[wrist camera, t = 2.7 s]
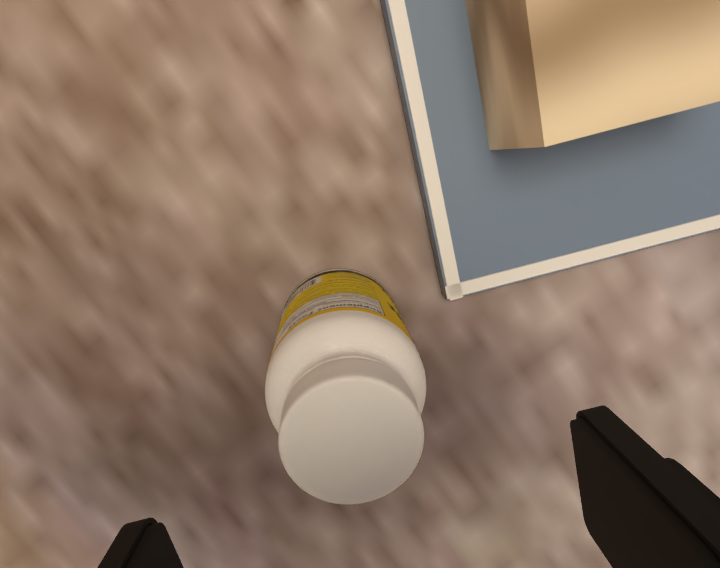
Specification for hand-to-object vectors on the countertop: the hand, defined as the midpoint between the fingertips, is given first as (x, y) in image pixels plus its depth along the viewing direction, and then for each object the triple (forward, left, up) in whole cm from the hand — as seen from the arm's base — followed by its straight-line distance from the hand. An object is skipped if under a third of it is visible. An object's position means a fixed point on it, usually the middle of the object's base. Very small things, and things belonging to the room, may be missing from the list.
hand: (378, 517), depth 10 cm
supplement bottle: (0, 0, -12) cm, 12 cm away
